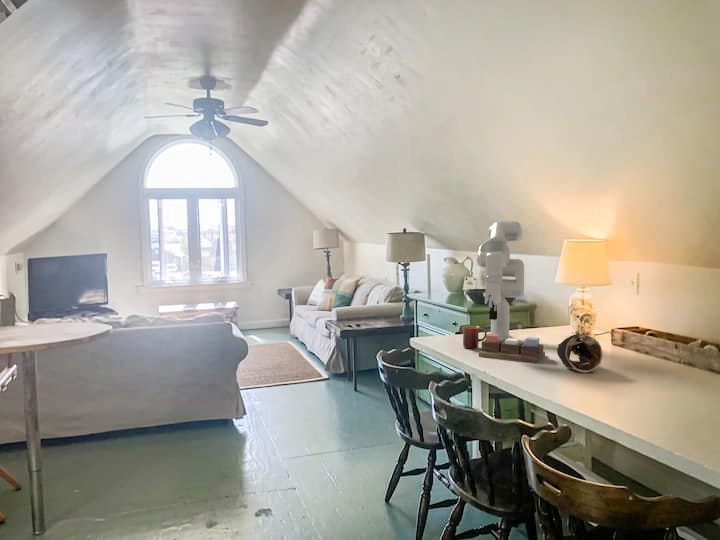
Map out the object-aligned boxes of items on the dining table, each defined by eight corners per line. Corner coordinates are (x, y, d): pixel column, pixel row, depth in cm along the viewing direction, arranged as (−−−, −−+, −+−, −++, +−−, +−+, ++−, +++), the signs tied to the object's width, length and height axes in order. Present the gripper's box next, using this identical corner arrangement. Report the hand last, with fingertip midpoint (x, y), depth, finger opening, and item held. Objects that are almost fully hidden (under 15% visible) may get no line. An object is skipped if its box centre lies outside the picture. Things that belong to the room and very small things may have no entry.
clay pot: (580, 332, 246) (600, 331, 221) (586, 367, 244) (607, 370, 219) (546, 336, 246) (562, 336, 222) (552, 370, 244) (569, 374, 220)
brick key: (489, 341, 259) (489, 333, 258) (499, 343, 256) (499, 334, 256) (485, 343, 254) (485, 335, 254) (496, 344, 252) (496, 336, 252)
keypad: (489, 349, 265) (489, 337, 264) (545, 355, 251) (545, 342, 251) (478, 356, 251) (478, 343, 250) (537, 363, 238) (537, 349, 237)
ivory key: (508, 346, 254) (508, 338, 254) (519, 347, 252) (519, 339, 251) (505, 348, 250) (505, 340, 250) (516, 349, 247) (516, 341, 247)
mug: (462, 349, 266) (462, 328, 265) (460, 345, 274) (461, 325, 274) (487, 350, 265) (487, 328, 264) (485, 346, 273) (485, 325, 273)
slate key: (527, 345, 250) (528, 337, 249) (539, 347, 247) (539, 338, 247) (525, 347, 245) (525, 338, 245) (536, 349, 243) (536, 340, 242)
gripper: (490, 278, 261) (490, 316, 263) (480, 280, 249) (480, 320, 250) (506, 279, 258) (505, 318, 259) (497, 281, 245) (496, 322, 246)
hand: (493, 319), depth 254 cm, fingers closed
